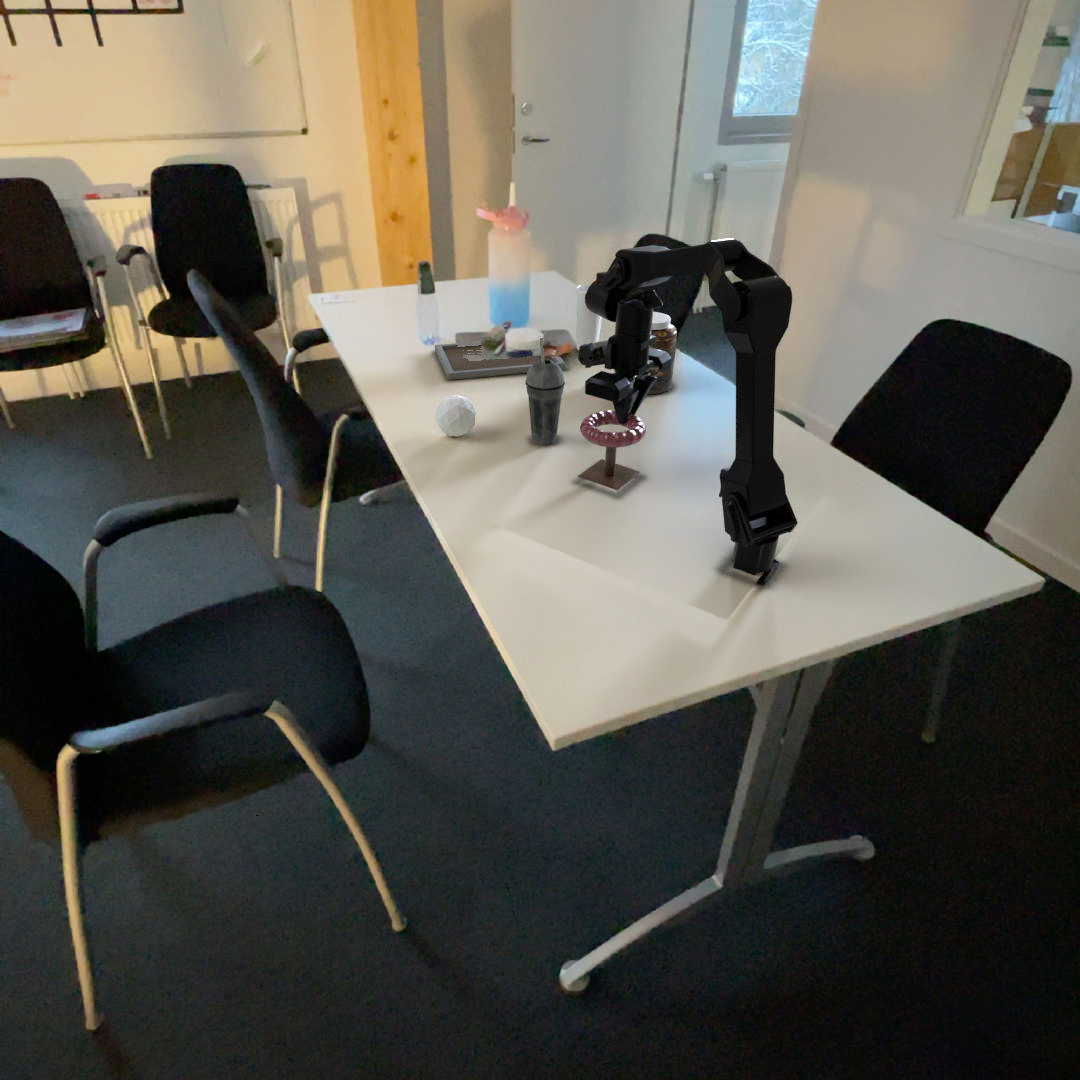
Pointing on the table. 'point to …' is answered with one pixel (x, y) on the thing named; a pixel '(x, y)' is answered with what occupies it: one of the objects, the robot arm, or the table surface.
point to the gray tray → (483, 363)
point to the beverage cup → (544, 398)
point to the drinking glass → (585, 319)
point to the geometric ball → (455, 415)
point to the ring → (612, 438)
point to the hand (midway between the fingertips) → (625, 420)
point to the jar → (663, 342)
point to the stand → (609, 471)
